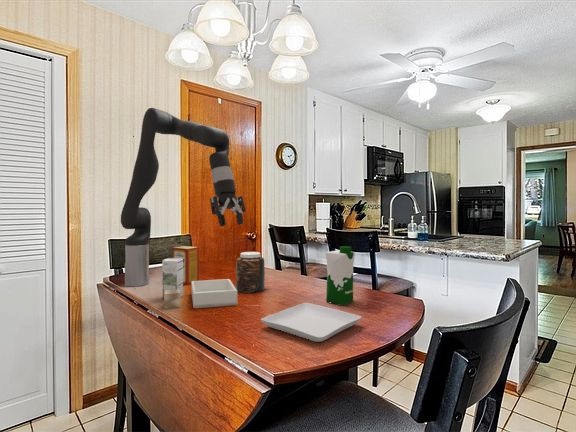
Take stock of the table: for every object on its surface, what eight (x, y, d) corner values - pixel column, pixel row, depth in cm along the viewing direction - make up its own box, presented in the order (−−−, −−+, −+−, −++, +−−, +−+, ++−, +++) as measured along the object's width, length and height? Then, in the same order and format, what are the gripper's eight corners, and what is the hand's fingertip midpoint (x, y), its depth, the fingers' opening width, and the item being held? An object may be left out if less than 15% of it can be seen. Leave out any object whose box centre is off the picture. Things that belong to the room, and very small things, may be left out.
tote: (193, 308, 115) (193, 293, 115) (191, 294, 134) (191, 281, 134) (237, 304, 120) (237, 290, 119) (229, 291, 138) (229, 278, 138)
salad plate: (320, 350, 83) (321, 336, 83) (258, 329, 97) (258, 317, 97) (363, 327, 99) (363, 315, 99) (305, 312, 113) (305, 301, 113)
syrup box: (183, 295, 131) (183, 257, 131) (177, 300, 125) (176, 260, 125) (169, 295, 132) (168, 257, 131) (162, 299, 126) (161, 259, 126)
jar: (267, 292, 137) (267, 254, 137) (237, 294, 134) (237, 255, 134) (262, 285, 149) (262, 250, 148) (234, 287, 146) (234, 251, 145)
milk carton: (344, 307, 118) (345, 248, 117) (322, 302, 123) (322, 246, 123) (356, 301, 124) (357, 246, 124) (335, 297, 130) (335, 244, 130)
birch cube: (164, 308, 115) (164, 294, 115) (165, 304, 120) (165, 290, 120) (180, 307, 117) (180, 292, 116) (180, 303, 121) (180, 289, 121)
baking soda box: (172, 282, 154) (172, 246, 153) (184, 279, 159) (184, 245, 159) (187, 285, 149) (187, 248, 148) (198, 282, 154) (198, 246, 154)
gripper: (230, 184, 132) (238, 226, 131) (201, 183, 121) (209, 229, 119) (244, 179, 128) (253, 221, 126) (215, 177, 116) (224, 224, 115)
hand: (232, 225), depth 123 cm, fingers open, 8 cm apart
